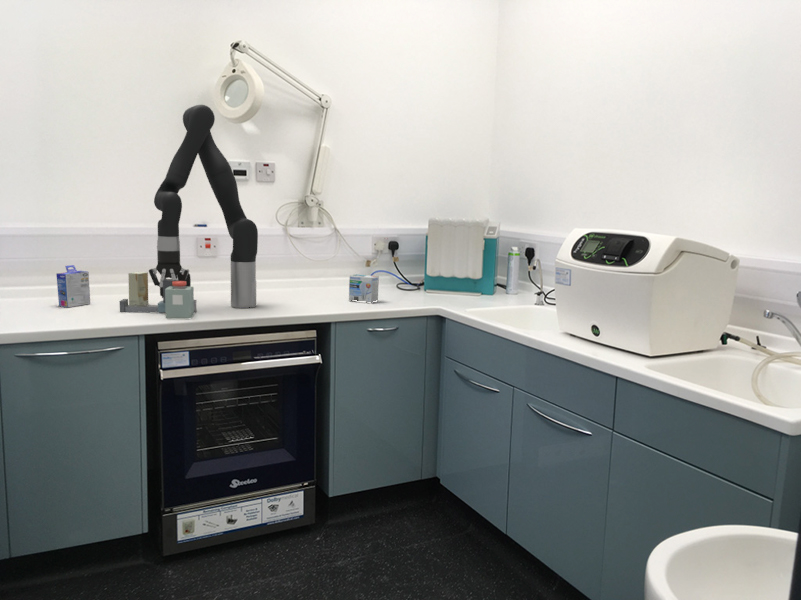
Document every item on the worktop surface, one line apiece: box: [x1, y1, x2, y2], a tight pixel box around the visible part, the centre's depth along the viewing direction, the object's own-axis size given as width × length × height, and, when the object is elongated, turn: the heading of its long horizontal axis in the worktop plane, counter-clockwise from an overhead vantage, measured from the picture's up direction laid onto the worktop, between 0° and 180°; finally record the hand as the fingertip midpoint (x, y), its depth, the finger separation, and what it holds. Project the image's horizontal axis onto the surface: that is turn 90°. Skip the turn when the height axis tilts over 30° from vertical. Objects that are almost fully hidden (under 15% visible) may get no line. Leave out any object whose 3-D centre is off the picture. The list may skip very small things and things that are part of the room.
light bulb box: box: [348, 274, 380, 302], centre depth 266 cm, size 11×7×11 cm, turn 68°
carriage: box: [157, 278, 173, 312], centre depth 229 cm, size 7×6×11 cm
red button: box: [172, 281, 187, 289], centre depth 221 cm, size 5×5×10 cm
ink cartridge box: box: [55, 264, 91, 308], centre depth 235 cm, size 10×6×14 cm, turn 155°
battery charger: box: [177, 271, 192, 287], centre depth 253 cm, size 7×4×11 cm, turn 109°
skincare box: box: [127, 271, 149, 305], centre depth 240 cm, size 6×4×12 cm
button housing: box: [165, 286, 195, 319], centre depth 221 cm, size 8×7×10 cm
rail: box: [119, 298, 197, 314], centre depth 229 cm, size 25×5×4 cm, turn 98°
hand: (169, 297), depth 229 cm, fingers closed on carriage, 3 cm apart
